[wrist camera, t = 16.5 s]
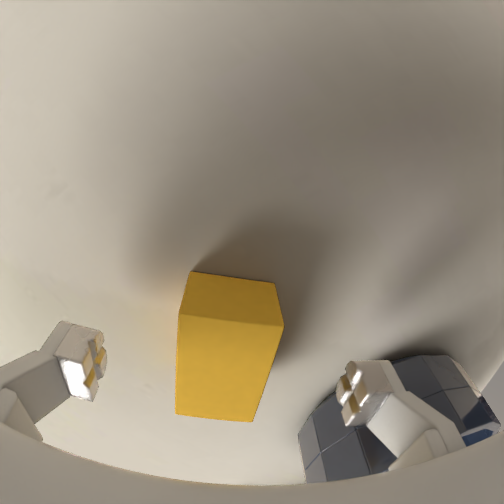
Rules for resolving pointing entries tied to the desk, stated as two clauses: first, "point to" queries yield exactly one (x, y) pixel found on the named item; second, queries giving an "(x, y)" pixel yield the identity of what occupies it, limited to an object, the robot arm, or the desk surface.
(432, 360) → the bowl
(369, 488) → the robot arm
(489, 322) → the desk surface
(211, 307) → the sponge
